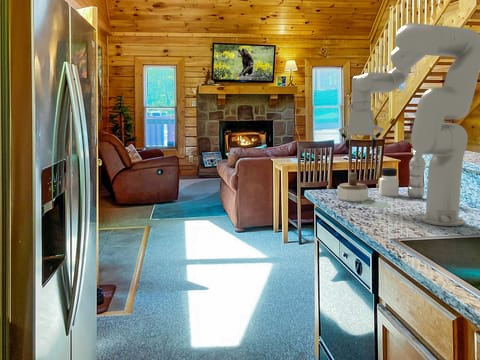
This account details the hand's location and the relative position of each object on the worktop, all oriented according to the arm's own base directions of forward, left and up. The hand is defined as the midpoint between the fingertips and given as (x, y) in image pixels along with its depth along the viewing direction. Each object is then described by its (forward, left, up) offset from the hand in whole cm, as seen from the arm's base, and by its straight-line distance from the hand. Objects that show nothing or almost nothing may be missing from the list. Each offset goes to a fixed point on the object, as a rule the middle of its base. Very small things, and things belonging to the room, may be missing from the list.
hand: (360, 149), depth 164 cm
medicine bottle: (+13, -13, -21) cm, 28 cm away
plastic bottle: (+7, -23, -21) cm, 32 cm away
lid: (+1, +3, -16) cm, 16 cm away
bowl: (+1, +3, -21) cm, 21 cm away
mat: (-10, -5, -21) cm, 24 cm away
